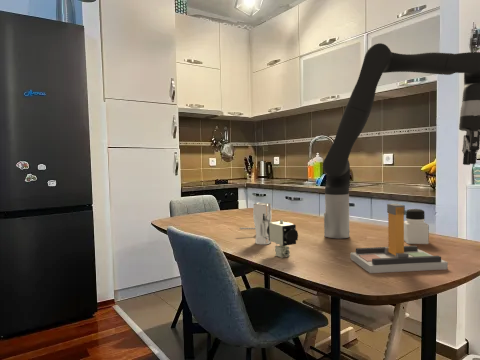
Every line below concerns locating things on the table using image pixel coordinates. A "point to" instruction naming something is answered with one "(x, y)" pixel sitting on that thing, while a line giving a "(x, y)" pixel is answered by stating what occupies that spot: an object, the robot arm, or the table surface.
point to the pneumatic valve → (282, 236)
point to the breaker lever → (395, 228)
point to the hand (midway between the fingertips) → (469, 164)
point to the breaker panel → (366, 263)
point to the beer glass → (262, 222)
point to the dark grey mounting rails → (399, 259)
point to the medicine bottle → (416, 227)
